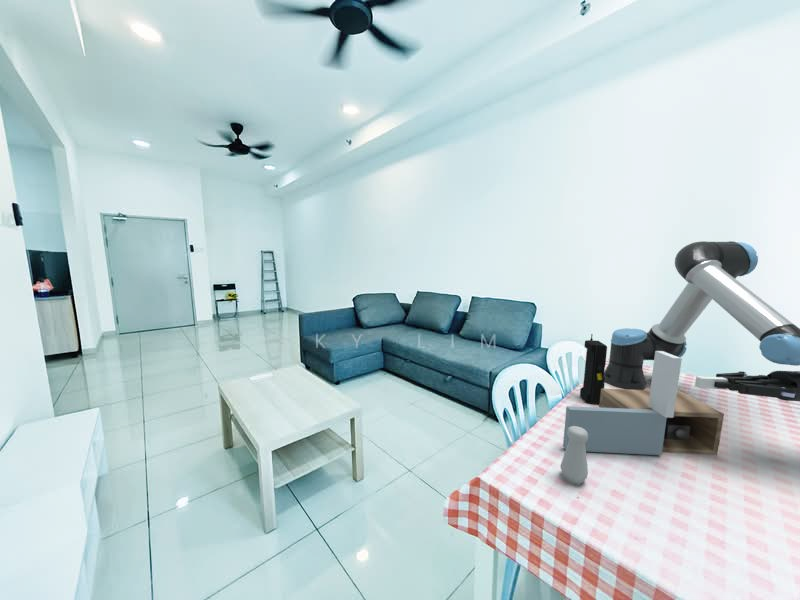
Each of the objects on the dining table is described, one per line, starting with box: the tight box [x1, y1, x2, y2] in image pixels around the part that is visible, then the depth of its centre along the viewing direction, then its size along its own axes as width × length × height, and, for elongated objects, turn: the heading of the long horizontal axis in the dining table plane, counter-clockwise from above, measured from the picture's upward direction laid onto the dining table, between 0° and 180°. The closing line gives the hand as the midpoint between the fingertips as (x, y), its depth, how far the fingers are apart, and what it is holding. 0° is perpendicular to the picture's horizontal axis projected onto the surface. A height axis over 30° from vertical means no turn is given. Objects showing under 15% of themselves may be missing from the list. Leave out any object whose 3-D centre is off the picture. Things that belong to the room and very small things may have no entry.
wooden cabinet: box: [598, 388, 725, 456], centre depth 90 cm, size 24×14×12 cm, turn 86°
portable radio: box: [579, 334, 608, 405], centre depth 113 cm, size 8×6×25 cm
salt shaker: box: [559, 426, 589, 486], centre depth 73 cm, size 6×6×13 cm
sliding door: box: [562, 351, 683, 456], centre depth 82 cm, size 25×6×28 cm, turn 86°
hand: (698, 382), depth 80 cm, fingers closed
